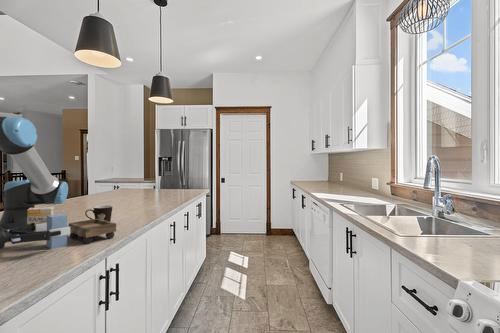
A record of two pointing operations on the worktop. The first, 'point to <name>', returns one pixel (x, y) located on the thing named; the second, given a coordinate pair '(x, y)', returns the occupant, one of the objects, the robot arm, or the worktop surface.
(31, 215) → the supplement box
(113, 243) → the worktop surface
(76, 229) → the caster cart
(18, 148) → the robot arm
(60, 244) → the slate post
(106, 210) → the coffee mug
